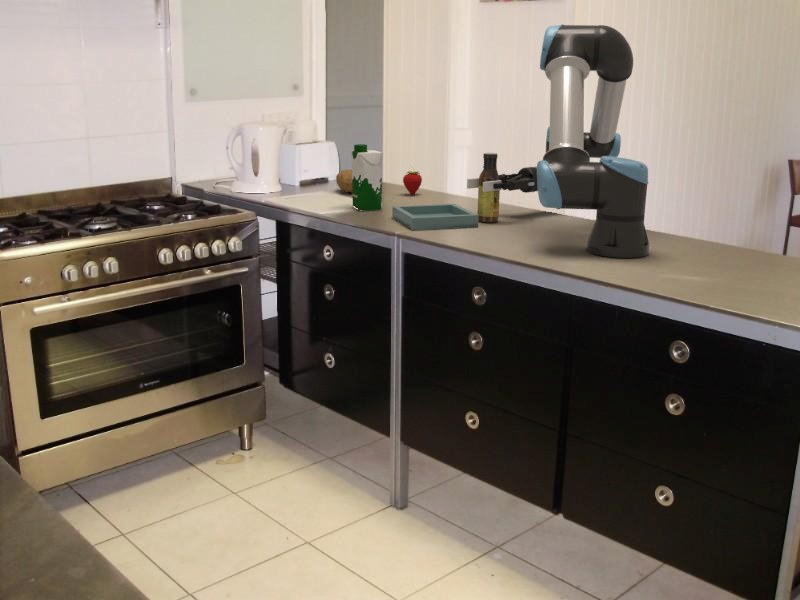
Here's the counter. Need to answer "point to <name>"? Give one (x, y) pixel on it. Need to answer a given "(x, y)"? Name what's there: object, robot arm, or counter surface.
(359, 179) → the milk carton
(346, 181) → the potato
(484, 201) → the sauce bottle
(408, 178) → the strawberry
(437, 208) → the tray
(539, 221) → the counter surface
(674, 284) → the counter surface
